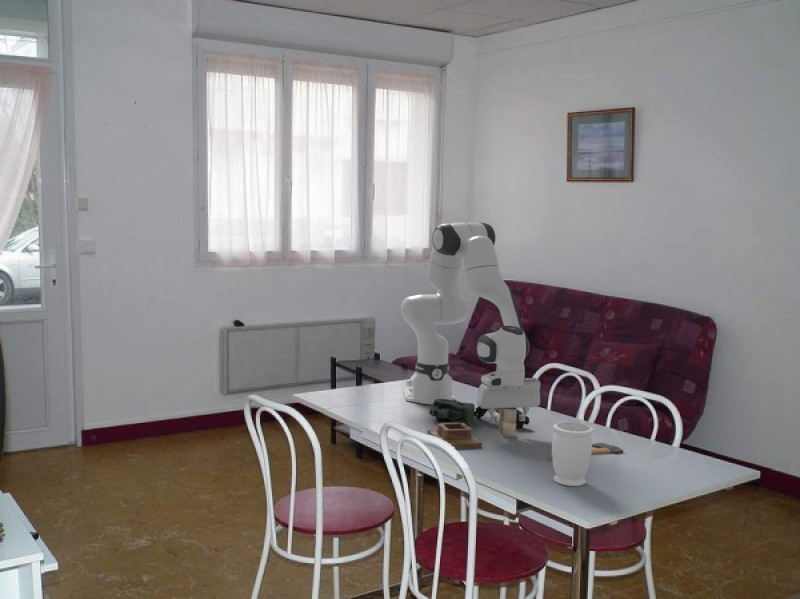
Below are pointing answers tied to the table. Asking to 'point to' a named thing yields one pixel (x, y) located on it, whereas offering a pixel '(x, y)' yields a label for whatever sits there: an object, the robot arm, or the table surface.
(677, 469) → the table surface
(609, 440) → the table surface
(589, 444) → the jar
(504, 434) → the maple post
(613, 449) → the hand axe
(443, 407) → the sculpture
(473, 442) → the walnut base
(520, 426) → the pistol
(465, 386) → the table surface
